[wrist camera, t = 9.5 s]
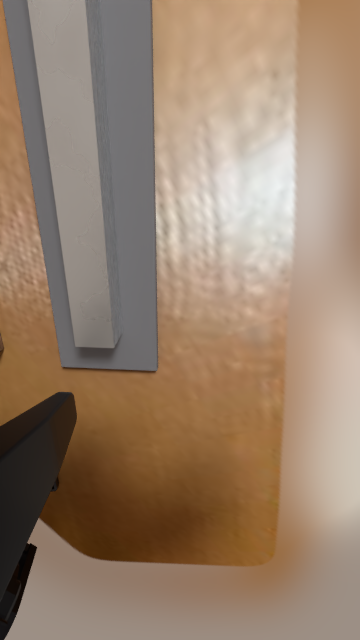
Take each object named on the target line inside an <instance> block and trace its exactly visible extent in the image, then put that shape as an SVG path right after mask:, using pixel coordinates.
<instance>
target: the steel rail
mask: <svg viewBox="0 0 360 640" xmlns="http://www.w3.org/2000/svg"><path fill="white" fill-rule="evenodd" d="M27 2H28V9H29V16H30V23H31V30H32V38H33V45H34V52H35V59H36V66H37V74H38V81H39V88H40V95H41V103H42V110H43V117H44V124H45V131H46V139H47V146H48V153H49V160H50V168H51V175H52V182H53V189H54V196H55V204H56V211H57V218H58V225H59V233H60V240H61V247H62V254H63V261H64V269H65V276H66V283H67V290H68V297H69V305H70V312H71V319H72V326H73V334H74V341H75V347H95V348H114V347H115V345H116V343H117V341H118V340H119V338H120V336H121V334H122V332H123V326H122V311H121V297H120V282H119V267H118V253H117V238H116V223H115V208H114V194H113V179H112V164H111V149H110V135H109V120H108V105H107V90H106V76H105V61H104V46H103V31H102V17H101V2H100V0H27Z"/></svg>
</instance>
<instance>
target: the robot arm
mask: <svg viewBox="0 0 360 640" xmlns="http://www.w3.org/2000/svg"><path fill="white" fill-rule="evenodd" d="M76 420H77V413H76V406H75V400H74V395H73V394H72V393H71V392H58V393H56V394H54V395H52V396H51V397H49V398H47V399H46V400H44V401H42V402H41V403H39V404H37V405H36V406H34V407H32V408H31V409H29V410H27V411H26V412H24V413H22V414H20V415H19V416H17V417H15V418H14V419H12V420H10V421H9V422H7V423H5V424H4V425H2V426H0V640H4V639H5V637H6V635H7V634H8V632H9V630H10V628H11V626H12V623H13V621H14V619H15V617H16V615H17V612H18V609H19V606H20V603H21V600H22V596H23V592H24V589H25V586H26V583H27V579H28V576H29V572H30V569H31V566H32V563H33V559H34V556H35V553H36V549H37V547H36V546H34V545H32V544H31V543H30V544H28V543H27V542H28V540H29V537H30V535H31V533H32V531H33V529H34V526H35V524H36V522H37V520H38V518H39V515H40V513H41V511H42V509H43V507H44V505H45V502H46V500H47V498H48V496H49V494H50V491H56V490H57V488H58V486H59V483H58V478H57V476H58V474H59V471H60V468H61V466H62V463H63V460H64V457H65V454H66V451H67V448H68V445H69V442H70V439H71V436H72V433H73V430H74V427H75V424H76Z"/></svg>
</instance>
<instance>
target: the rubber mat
mask: <svg viewBox="0 0 360 640" xmlns="http://www.w3.org/2000/svg"><path fill="white" fill-rule="evenodd" d="M100 2H101V17H102V31H103V46H104V61H105V76H106V90H107V105H108V120H109V135H110V149H111V164H112V179H113V194H114V208H115V223H116V238H117V253H118V267H119V282H120V297H121V311H122V326H123V332H122V334H121V336H120V338H119V340H118V341H117V343H116V345H115V347H114V348H95V347H75V341H74V334H73V326H72V319H71V312H70V305H69V297H68V290H67V283H66V276H65V269H64V261H63V254H62V247H61V240H60V233H59V225H58V218H57V211H56V204H55V196H54V189H53V182H52V175H51V168H50V160H49V153H48V146H47V139H46V131H45V124H44V117H43V110H42V103H41V95H40V88H39V81H38V74H37V66H36V59H35V52H34V45H33V38H32V30H31V23H30V16H29V9H28V2H27V0H3V5H4V12H5V18H6V24H7V30H8V37H9V43H10V49H11V55H12V61H13V68H14V74H15V80H16V86H17V92H18V99H19V105H20V111H21V117H22V123H23V130H24V136H25V142H26V148H27V154H28V161H29V167H30V173H31V179H32V185H33V192H34V198H35V204H36V210H37V216H38V223H39V229H40V235H41V241H42V247H43V254H44V260H45V266H46V272H47V278H48V285H49V291H50V297H51V303H52V309H53V316H54V322H55V328H56V334H57V340H58V347H59V353H60V359H61V365H62V367H78V368H101V369H125V370H148V371H157V369H158V331H157V271H156V211H155V152H154V92H153V33H152V0H100Z"/></svg>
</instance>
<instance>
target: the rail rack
mask: <svg viewBox="0 0 360 640" xmlns="http://www.w3.org/2000/svg"><path fill="white" fill-rule="evenodd" d="M2 349H4V347H3V343H2V339H1V335H0V351H1V350H2Z"/></svg>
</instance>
